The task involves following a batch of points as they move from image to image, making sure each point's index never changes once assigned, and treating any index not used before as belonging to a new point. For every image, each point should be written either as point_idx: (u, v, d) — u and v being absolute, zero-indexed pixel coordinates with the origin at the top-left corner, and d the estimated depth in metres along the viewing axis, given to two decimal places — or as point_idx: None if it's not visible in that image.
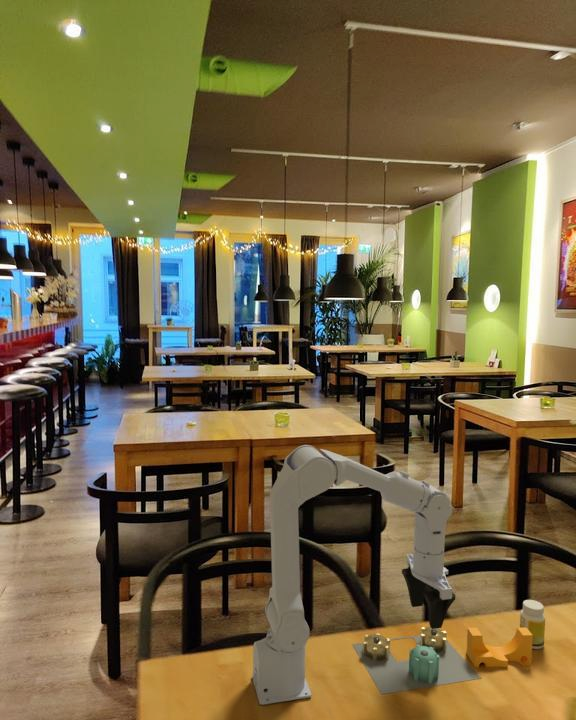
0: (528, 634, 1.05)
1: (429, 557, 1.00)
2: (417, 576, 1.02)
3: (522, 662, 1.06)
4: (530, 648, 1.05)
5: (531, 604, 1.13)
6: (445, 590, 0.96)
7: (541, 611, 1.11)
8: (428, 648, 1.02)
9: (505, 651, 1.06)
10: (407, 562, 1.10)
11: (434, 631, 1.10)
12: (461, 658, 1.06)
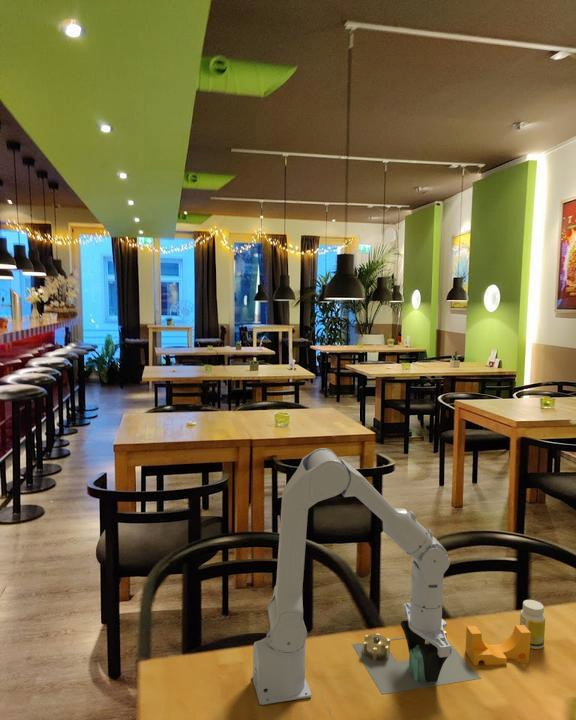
0: (526, 631, 1.06)
1: (427, 611, 0.97)
2: (414, 630, 0.98)
3: (520, 659, 1.06)
4: (528, 645, 1.06)
5: (531, 604, 1.13)
6: (443, 648, 0.93)
7: (541, 611, 1.11)
8: None
9: (503, 648, 1.07)
10: (404, 611, 1.06)
11: None
12: (461, 658, 1.06)
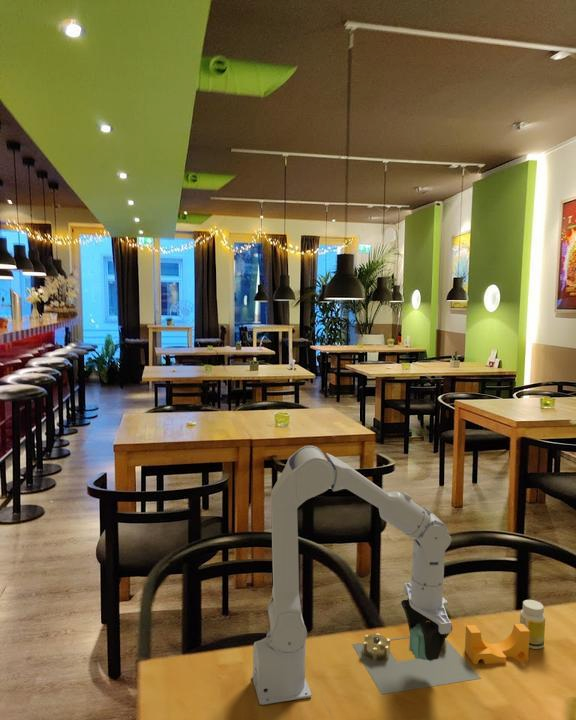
0: (525, 630, 1.07)
1: (428, 589, 0.97)
2: (415, 608, 0.98)
3: (519, 658, 1.07)
4: (527, 644, 1.07)
5: (531, 604, 1.13)
6: (444, 624, 0.93)
7: (541, 611, 1.11)
8: None
9: (503, 647, 1.07)
10: (405, 591, 1.06)
11: None
12: (461, 658, 1.06)
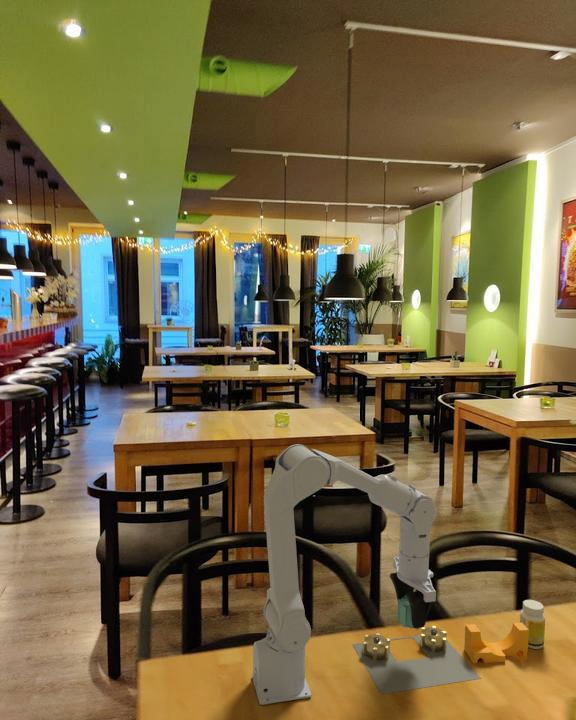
0: (524, 629, 1.07)
1: (414, 560, 1.02)
2: (402, 579, 1.03)
3: (518, 657, 1.07)
4: (526, 643, 1.07)
5: (531, 604, 1.13)
6: (429, 593, 0.98)
7: (541, 611, 1.11)
8: None
9: (502, 646, 1.08)
10: (394, 565, 1.11)
11: (434, 631, 1.10)
12: (461, 658, 1.06)
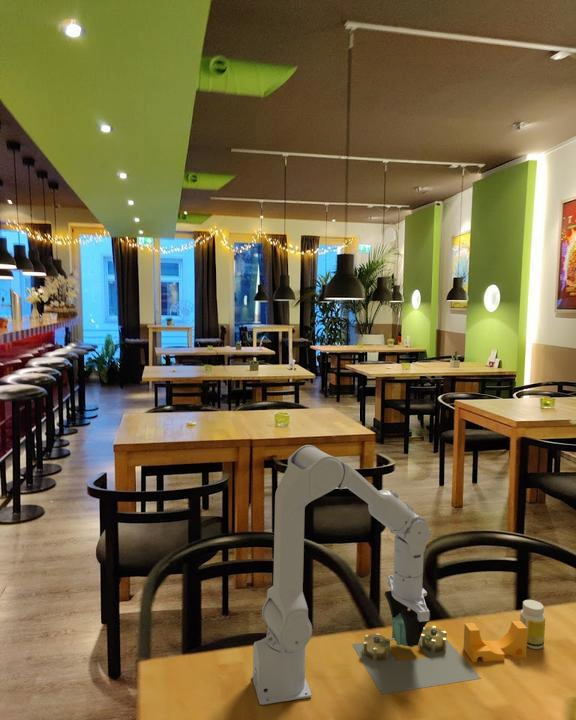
0: (523, 627, 1.08)
1: (408, 580, 1.04)
2: (397, 598, 1.06)
3: (517, 655, 1.08)
4: (525, 641, 1.08)
5: (531, 604, 1.13)
6: (422, 612, 1.00)
7: (541, 611, 1.11)
8: None
9: (501, 645, 1.08)
10: (388, 583, 1.14)
11: (434, 631, 1.10)
12: (461, 658, 1.06)
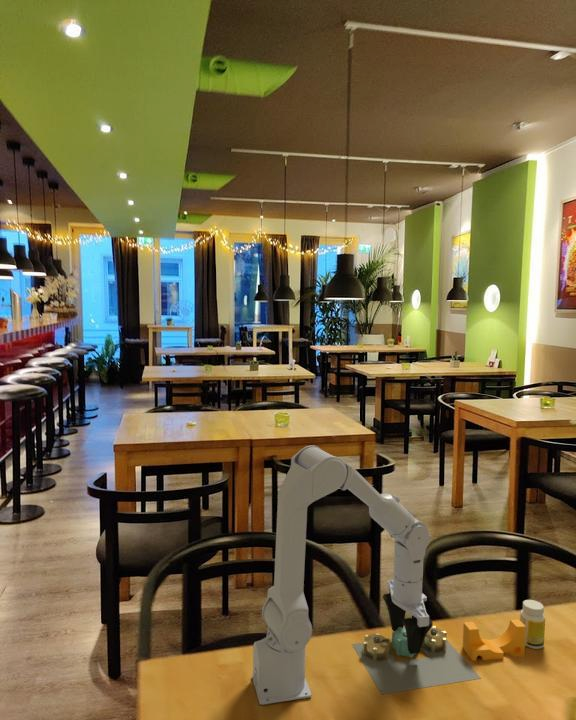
0: (521, 625, 1.08)
1: (408, 585, 1.05)
2: (396, 603, 1.06)
3: (516, 653, 1.08)
4: (523, 639, 1.08)
5: (531, 604, 1.13)
6: (422, 618, 1.00)
7: (541, 611, 1.11)
8: None
9: (500, 643, 1.09)
10: (388, 587, 1.14)
11: (434, 631, 1.10)
12: (461, 658, 1.06)
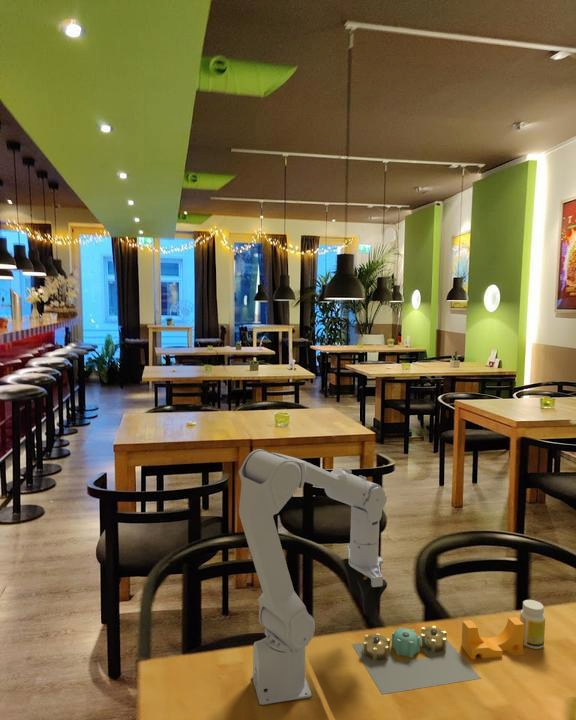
0: (520, 623, 1.09)
1: (363, 547, 1.06)
2: (352, 565, 1.07)
3: (514, 651, 1.09)
4: (522, 637, 1.09)
5: (531, 604, 1.13)
6: (375, 578, 1.02)
7: (541, 611, 1.11)
8: (409, 630, 1.10)
9: (498, 641, 1.09)
10: (347, 553, 1.15)
11: (434, 631, 1.10)
12: (461, 658, 1.06)
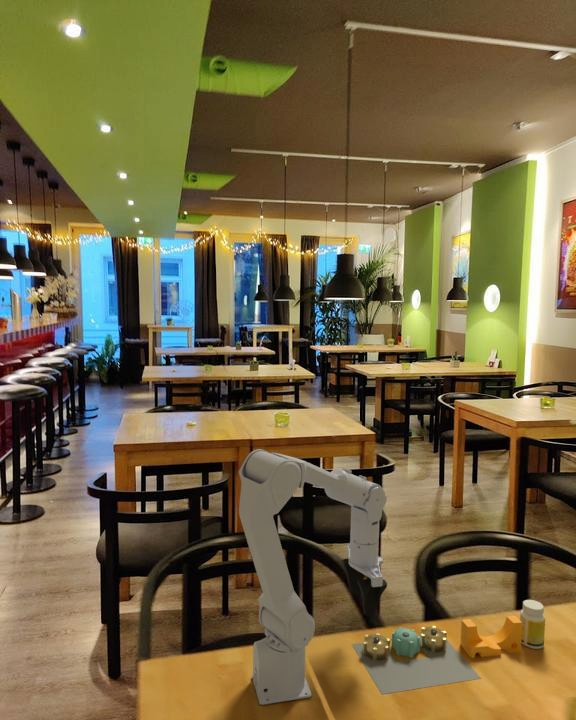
0: (518, 621, 1.10)
1: (363, 547, 1.06)
2: (352, 565, 1.07)
3: (513, 649, 1.10)
4: (520, 635, 1.10)
5: (531, 604, 1.13)
6: (375, 578, 1.02)
7: (541, 611, 1.11)
8: (409, 630, 1.10)
9: (497, 639, 1.10)
10: (347, 553, 1.15)
11: (434, 631, 1.10)
12: (461, 658, 1.06)
